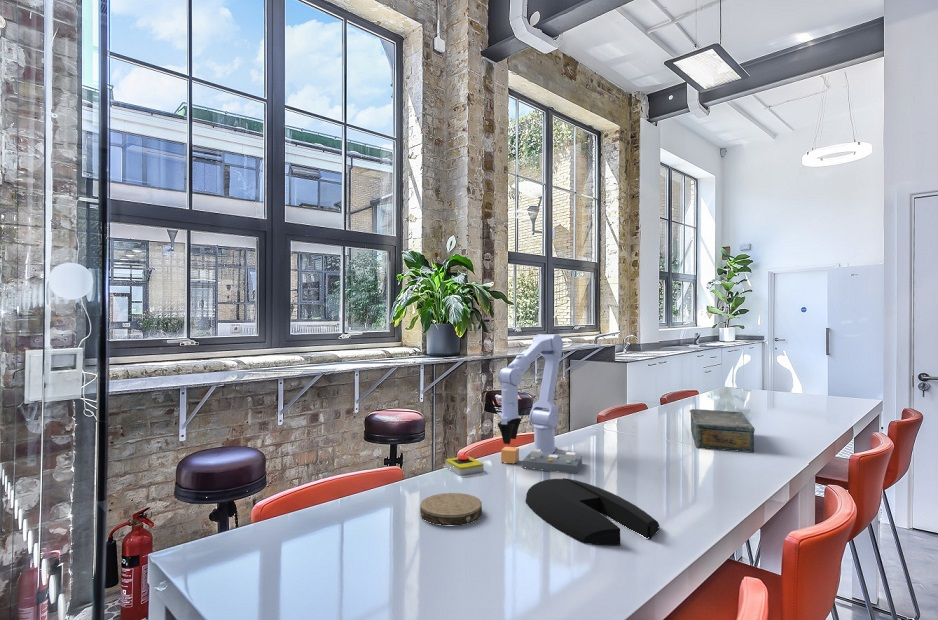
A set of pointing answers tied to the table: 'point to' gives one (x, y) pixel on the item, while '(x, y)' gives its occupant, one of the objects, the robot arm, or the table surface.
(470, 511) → the wood slice
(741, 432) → the metal box
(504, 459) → the orange rounded cube
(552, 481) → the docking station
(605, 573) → the table surface
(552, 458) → the block
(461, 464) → the emergency button
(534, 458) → the breaker board
